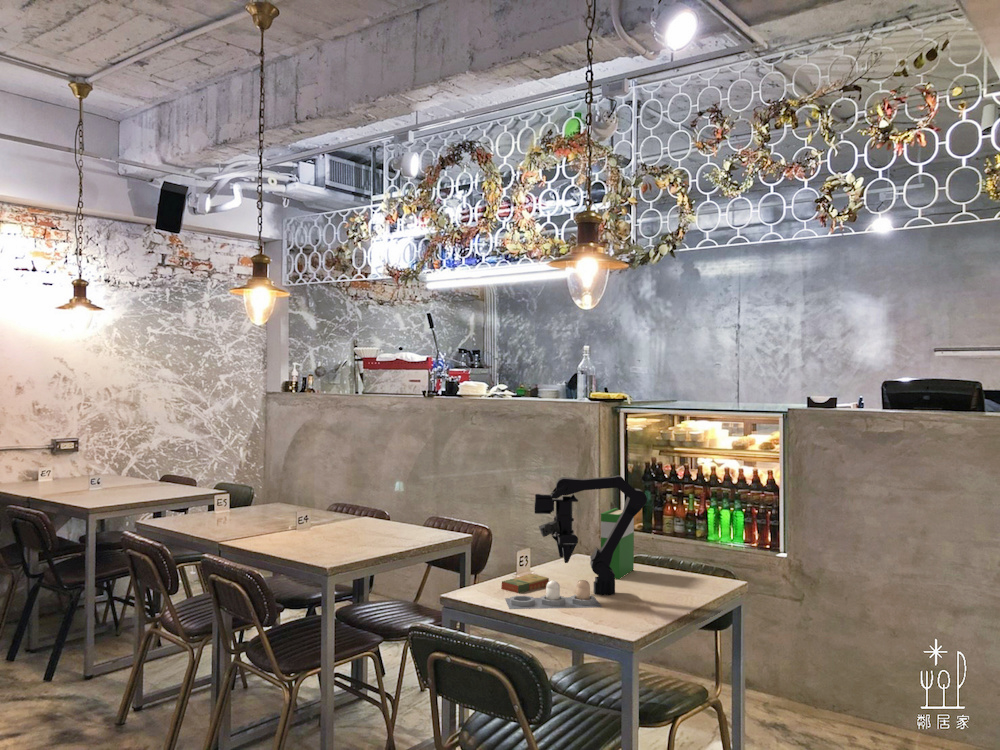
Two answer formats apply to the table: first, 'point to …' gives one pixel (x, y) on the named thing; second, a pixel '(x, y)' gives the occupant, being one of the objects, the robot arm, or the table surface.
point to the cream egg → (553, 590)
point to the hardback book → (625, 548)
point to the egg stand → (550, 602)
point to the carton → (525, 583)
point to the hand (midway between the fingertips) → (563, 560)
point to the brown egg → (583, 590)
